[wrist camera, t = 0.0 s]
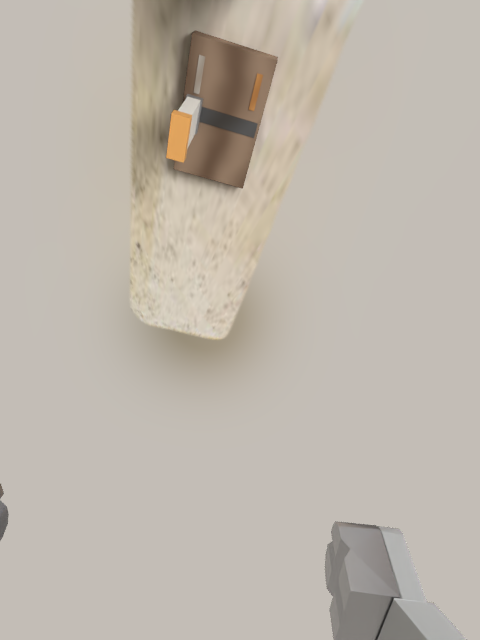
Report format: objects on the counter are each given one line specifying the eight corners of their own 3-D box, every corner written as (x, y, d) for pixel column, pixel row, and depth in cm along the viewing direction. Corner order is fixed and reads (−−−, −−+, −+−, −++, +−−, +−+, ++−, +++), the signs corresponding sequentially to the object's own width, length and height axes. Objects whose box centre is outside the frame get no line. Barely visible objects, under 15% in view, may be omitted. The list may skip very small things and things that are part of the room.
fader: (182, 130, 51) (166, 157, 44) (187, 90, 48) (171, 113, 41) (197, 134, 51) (183, 162, 44) (204, 94, 48) (190, 118, 41)
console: (176, 163, 56) (173, 169, 55) (195, 30, 46) (191, 33, 44) (243, 182, 58) (242, 188, 56) (277, 57, 47) (277, 60, 45)
